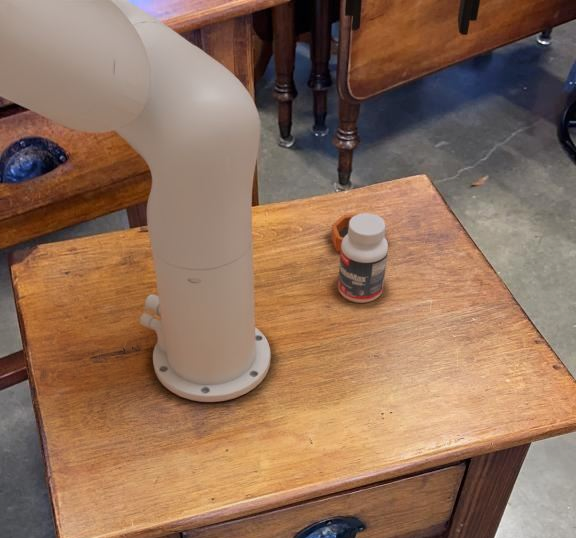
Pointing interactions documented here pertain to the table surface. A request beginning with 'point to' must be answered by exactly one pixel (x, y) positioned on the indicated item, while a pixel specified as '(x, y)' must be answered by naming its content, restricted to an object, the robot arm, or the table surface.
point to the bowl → (340, 230)
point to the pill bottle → (363, 259)
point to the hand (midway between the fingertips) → (408, 25)
